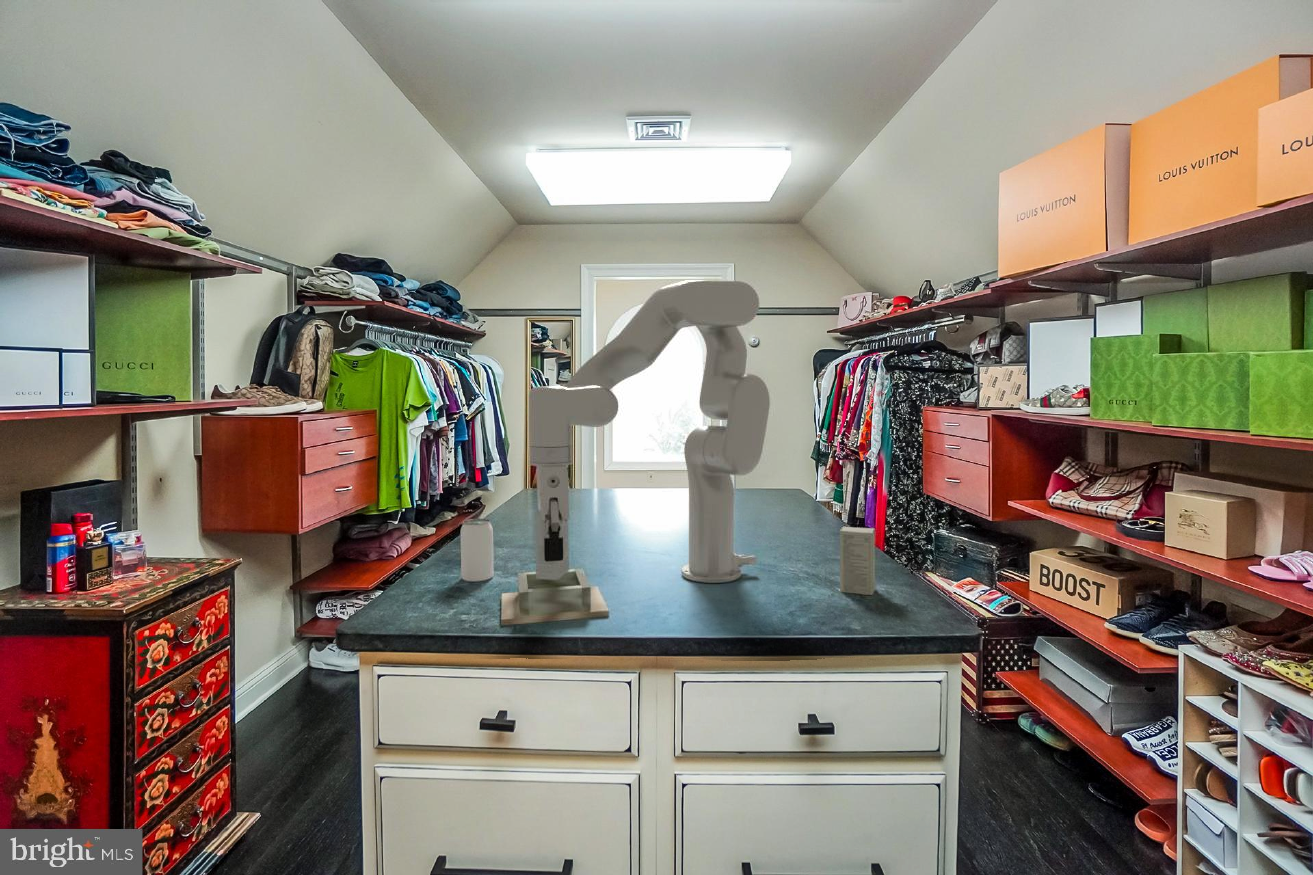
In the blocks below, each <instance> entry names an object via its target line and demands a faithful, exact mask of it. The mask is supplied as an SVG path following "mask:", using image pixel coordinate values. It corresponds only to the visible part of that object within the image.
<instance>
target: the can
mask: <svg viewBox="0 0 1313 875" xmlns="http://www.w3.org/2000/svg"><path fill="white" fill-rule="evenodd" d="M461 523H462V526H460V527H461V528H460V566H461V568H460V569H461V573H460V574H461V579H462V580H463V581H464V582H467V583H481V582H486V581H489V580H491V579H492V578H493V576H494V574H495V573H494V569H495V568H494V533H493V532H494V529H493V526H492V524H491V519H488V518H471V519H466V520H464V521H462V522H461Z"/></svg>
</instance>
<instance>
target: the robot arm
mask: <svg viewBox="0 0 1313 875" xmlns="http://www.w3.org/2000/svg"><path fill="white" fill-rule="evenodd" d="M759 308H760V298H759V295H758V293H757V291H756V290H755V288H754V287H753V286H752V285H751V284H750V283H748V282H745V281H740V280H739V281H738V280H700V279H698V280H696V279H693V280H684V281H680V282H677V283H673V284H670V285H666V286H663V287H660V288H659V289H657V290H656V291H654V292H652V294H651V296H649V298H648V299H647V300H646V301H645V302H644V304H643V305H642V306H641V307H640V309H638V311H637V312H636V313H635V315H633V317H632V318H631V319H630V321H629V322H628V323H627V324H626V325H625V326H624V327H623V329H622V330H621V331H620V332H619V334H618V335H616V337H614V338H613V339H612V340H611V341H609V342H608V343H607V344H606V345H604V347H602V348H601V349H600V350H599V351H598V352H596V353H595V354H594V355H593V356H592V357H591V358H589V359H588V360H587V361H586V362H585V363H584V364H582V366H581V367H580V368H579V369H578V370H576V372H575V373H574V374H573V375H572V377H571V378H570V379H569V380H568V382H567V383H566V384H565V385H563V386H561V385H560V386H558V385H557V386H556V385H555V386H553V385H552V386H551V385H550V386H549V385H547V386H545V385H544V386H543V385H542V386H535V387H533V388H531V389H530V391H529V393H528V422H529V423H528V429H529V430H528V433H529V439H528V441H529V444H528V445H529V466H534V467H536V491H537V492H536V495H537V506H538V511H540V516H541V521H542V522H544V523H545V531H546V538H544V559H545V561H547V562H548V561H562V560H563V537H562V521H561V516H562V518H563V520H565V521H566V522H568V523H569V521H570V499H569V498H570V496H569V476H568V475H569V473H568V466H572V465H573V426H581V427H582V426H583V427H588V428H589V427H590V428H600V427H604V426H606V425H608V424H610V423H611V422H613V420H614V419H615V418H616V416H617V414H618V412H619V401H618V399H617V397H616V395H615V394H614V393H613V391H611V390H612V389H613V388H614V387H616V386H617V385H618V384H619V383H621V382H622V381H624V380H626V379H628V378H631V377H633V376H636V375H638V374H639V373H642V372H643V371H645V370H646V369H647V368H649V367H651V366H652V365H653V364H654V363H655V362H656V360H657V359H658V357H659V356H660V355H661V354H662V352H663V351H664V350H665V348H666V347H667V346H668V345H669V344H670V342H671V341H672V340H673V338H675V336H676V335H677V334H678V332H679V331H680V330H681V329H684V328H691V327H696V328H697V329H698V331H699V333H700V335H701V336H702V338H703V341H704V344H705V348H706V355H705V356H706V357H705V364H704V370H703V376H702V382H701V387H700V392H699V408H700V411H701V413H702V414H703V415H704V416H706V417H707V418H708V419H709V418H710V419H713V420H719V421H726V425H703V426H699V427H696V428H695V429H693V430H691V432H690V433H689V434H688V435H687V437H686V438H685V439H686V440H685V443H684V448H683V450H684V452H683V454H684V459H685V465H686V466H685V467H686V470H687V478H688V564H686V565H684V566H683V567H682V568H681V576H682V577H683V578H685V579H687V580H690V581H693V582H698V583H706V584H707V583H708V584H720V583H721V584H722V583H729V582H733V581H736V580H738V579H740V578H741V576H742V569H741V568H742V567H743V566H755V565H756V564H757V558H756V556H755V555H747V556H746V554H738V553H736V552H735V488H734V483H733V480H732V477H731V475H732V476H746V475H748V474H750V473H752V472H753V471H754V470H755V469H756V468H757V466H758V464H759V462H760V460H761V456H762V453H763V448H764V443H765V437H766V431H767V424H768V420H769V414H770V413H769V412H770V406H771V405H770V404H771V401H770V400H771V398H770V393H769V389H768V387H767V384H766V383H765V381H764V380H763V379H762V378H761V377H759V376H758V375H757V374H753V373H746V369H747V368H746V366H747V357H748V350H747V345H746V342H745V341H746V340H744V337H743V335H742V334H741V332H740V330H739V328H738V327H740V326H745V325H747V324H749V323H751V322H752V321H753V320H754V319H755V318H756V316H757V314H758V312H759V310H760V309H759ZM549 506H550V508H549ZM547 513H548V517H550V516H551V520H548V517H547ZM549 525H550V526H549Z"/></svg>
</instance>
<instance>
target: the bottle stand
mask: <svg viewBox="0 0 1313 875" xmlns="http://www.w3.org/2000/svg"><path fill="white" fill-rule="evenodd" d="M500 613H501V614H500V615H501V617H500V622H501V623H500V625H501V626H511V625H512V626H513V625H523V624H535V623H545V622H557V621H568V620H578V619H579V620H580V619H582V620H583V619H593V618H601V617H603V618H604V617H610V609H609V608H608V605H607V603H606V602H605V600H604V597H603V595H602V594H601V591H600V589H599V587H598V586H591V585H590V583H589V581H588V578H587V576H586V574H585V572H584V569H583V568H569V571H568V572H567V573H565V574H564V575H563V576H562V577H561V578H559V579H558V580H546V579H537V578H536V571H523V572H518V573H517V591H516V592H505V593H504V592H503V593H501V612H500Z"/></svg>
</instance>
